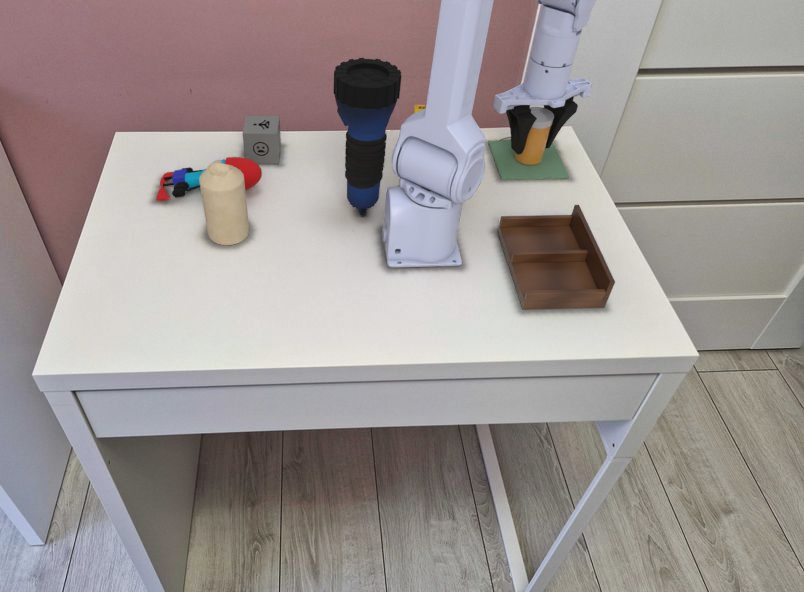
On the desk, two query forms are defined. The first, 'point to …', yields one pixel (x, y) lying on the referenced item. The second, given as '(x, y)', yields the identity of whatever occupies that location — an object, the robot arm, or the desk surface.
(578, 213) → the tray
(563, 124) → the robot arm
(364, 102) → the flashlight
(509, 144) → the green mat
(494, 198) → the desk surface
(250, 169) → the toy figure
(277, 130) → the dice cube
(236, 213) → the candle
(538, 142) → the disc
